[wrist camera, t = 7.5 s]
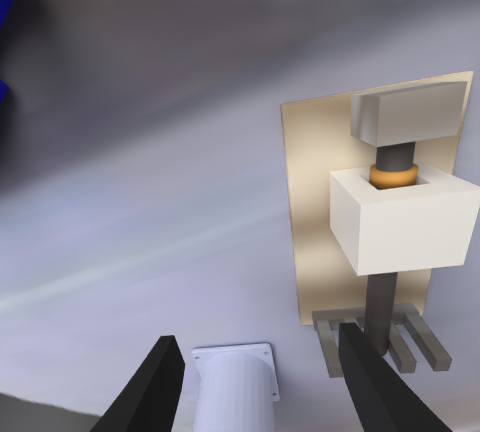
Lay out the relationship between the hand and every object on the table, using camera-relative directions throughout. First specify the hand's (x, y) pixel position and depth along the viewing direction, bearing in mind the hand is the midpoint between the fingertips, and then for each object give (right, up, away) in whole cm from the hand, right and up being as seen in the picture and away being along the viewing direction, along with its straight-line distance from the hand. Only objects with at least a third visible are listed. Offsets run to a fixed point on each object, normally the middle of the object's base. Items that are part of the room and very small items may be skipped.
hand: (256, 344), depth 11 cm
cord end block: (+8, +7, +5) cm, 12 cm away
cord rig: (+8, +5, +7) cm, 12 cm away
